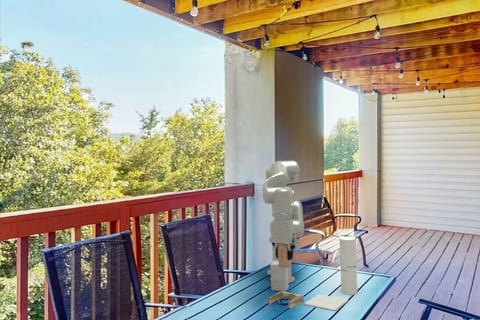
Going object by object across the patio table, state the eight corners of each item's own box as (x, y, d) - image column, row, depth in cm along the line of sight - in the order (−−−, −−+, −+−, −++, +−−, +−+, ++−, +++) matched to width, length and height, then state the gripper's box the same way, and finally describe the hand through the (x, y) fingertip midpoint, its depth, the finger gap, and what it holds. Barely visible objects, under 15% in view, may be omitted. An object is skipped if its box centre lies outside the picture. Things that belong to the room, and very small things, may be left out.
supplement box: (289, 286, 193) (288, 261, 193) (286, 291, 186) (285, 264, 186) (274, 285, 195) (273, 260, 196) (270, 290, 188) (269, 264, 189)
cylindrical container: (358, 295, 178) (356, 239, 178) (341, 294, 179) (339, 239, 179) (356, 290, 185) (354, 236, 185) (341, 289, 186) (339, 236, 186)
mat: (304, 304, 168) (304, 303, 168) (318, 295, 179) (318, 294, 179) (334, 311, 160) (334, 309, 160) (348, 301, 171) (348, 299, 171)
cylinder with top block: (274, 267, 170) (274, 244, 170) (282, 264, 175) (281, 241, 175) (285, 269, 167) (284, 245, 167) (292, 265, 172) (292, 242, 172)
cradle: (268, 303, 171) (267, 297, 171) (281, 296, 180) (281, 290, 180) (291, 308, 164) (290, 302, 164) (303, 301, 173) (303, 295, 173)
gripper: (261, 216, 174) (263, 258, 174) (295, 219, 164) (297, 263, 164) (271, 214, 180) (272, 254, 180) (304, 217, 170) (305, 259, 170)
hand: (284, 258), depth 172 cm, fingers closed on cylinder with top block, 5 cm apart
